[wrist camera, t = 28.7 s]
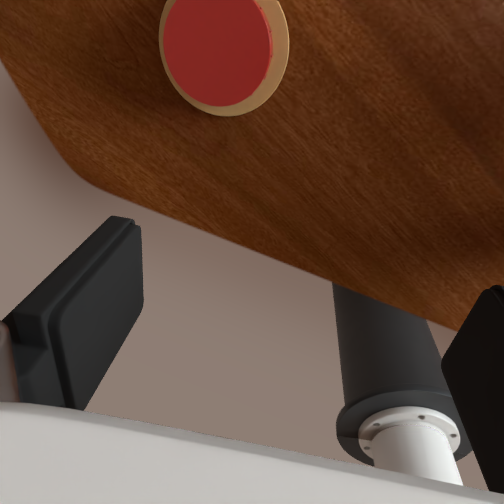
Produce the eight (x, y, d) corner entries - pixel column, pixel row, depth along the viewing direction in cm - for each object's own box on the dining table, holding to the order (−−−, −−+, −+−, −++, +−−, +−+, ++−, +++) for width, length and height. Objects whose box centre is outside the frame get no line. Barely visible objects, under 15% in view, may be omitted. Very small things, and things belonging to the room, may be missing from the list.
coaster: (282, 119, 28) (282, 121, 27) (166, 109, 28) (163, 111, 28) (296, -31, 23) (296, -32, 22) (155, -39, 23) (152, -40, 23)
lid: (182, -35, 23) (174, -39, 21) (288, 7, 23) (287, 6, 22) (163, 82, 27) (154, 86, 25) (254, 115, 27) (251, 121, 26)
